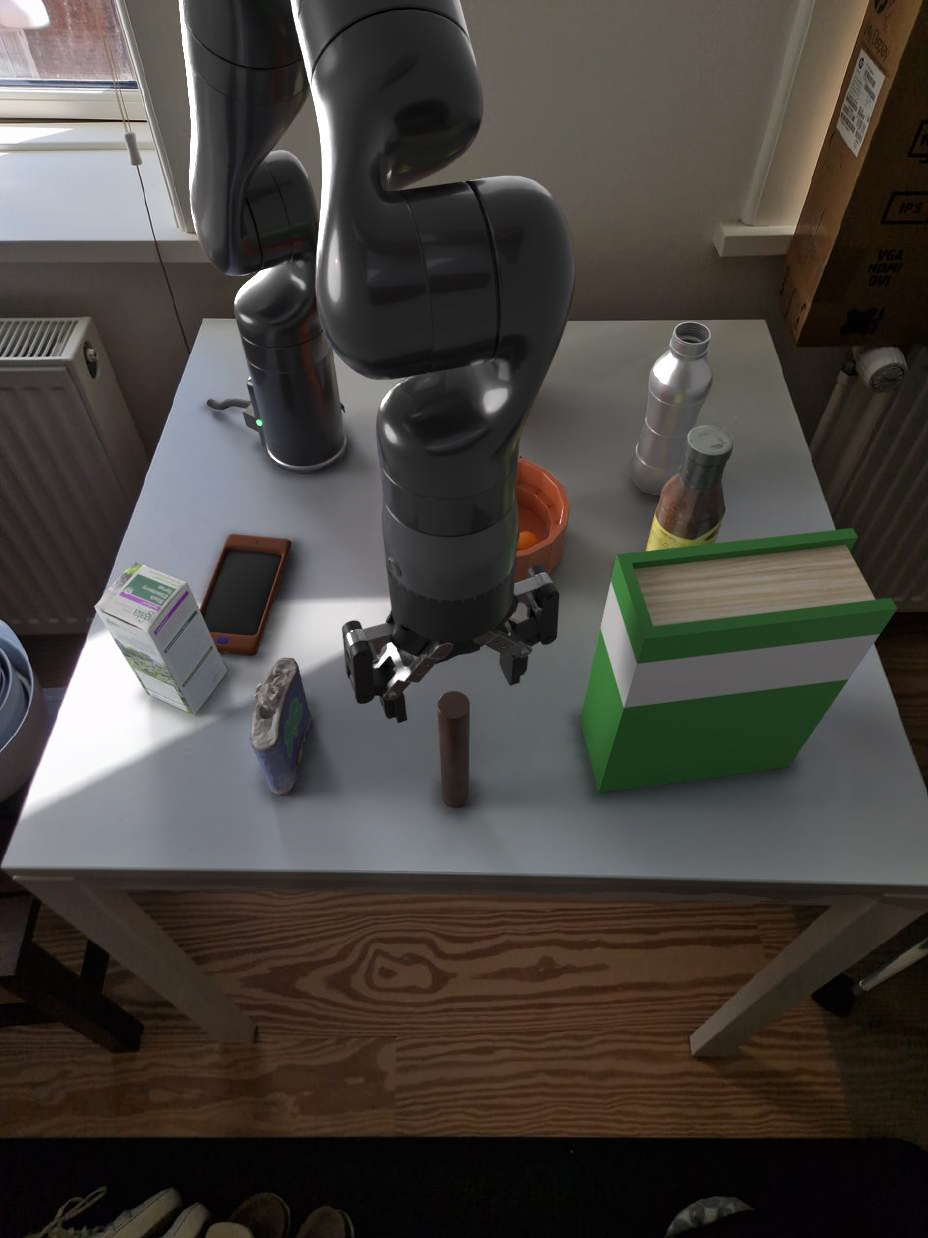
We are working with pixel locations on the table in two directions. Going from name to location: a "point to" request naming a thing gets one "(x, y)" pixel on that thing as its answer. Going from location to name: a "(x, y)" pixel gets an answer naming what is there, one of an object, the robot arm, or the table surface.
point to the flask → (280, 725)
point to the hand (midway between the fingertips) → (454, 693)
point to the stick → (454, 747)
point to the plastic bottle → (672, 406)
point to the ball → (526, 541)
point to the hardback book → (724, 656)
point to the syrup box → (162, 636)
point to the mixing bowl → (540, 517)
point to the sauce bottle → (693, 493)
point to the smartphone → (243, 591)
